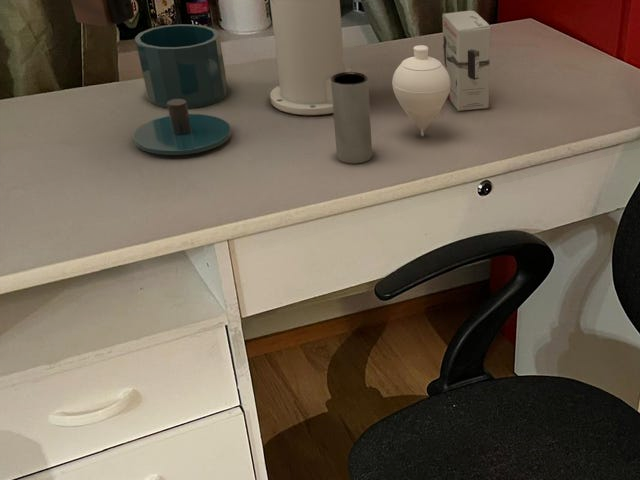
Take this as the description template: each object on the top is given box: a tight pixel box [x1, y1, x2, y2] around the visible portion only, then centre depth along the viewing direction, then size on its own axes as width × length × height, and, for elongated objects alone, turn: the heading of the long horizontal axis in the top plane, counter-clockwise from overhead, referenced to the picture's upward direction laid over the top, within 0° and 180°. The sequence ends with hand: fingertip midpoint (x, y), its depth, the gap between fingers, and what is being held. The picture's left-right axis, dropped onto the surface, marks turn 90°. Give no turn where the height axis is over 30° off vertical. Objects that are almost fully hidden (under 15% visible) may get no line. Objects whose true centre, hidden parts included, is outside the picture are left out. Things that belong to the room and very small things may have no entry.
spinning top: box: [392, 44, 451, 137], centre depth 114 cm, size 8×8×12 cm
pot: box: [134, 23, 228, 109], centre depth 126 cm, size 11×11×8 cm
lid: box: [132, 99, 232, 156], centre depth 113 cm, size 12×12×5 cm
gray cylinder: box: [331, 71, 373, 165], centre depth 109 cm, size 4×4×10 cm
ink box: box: [442, 10, 491, 112], centre depth 126 cm, size 8×5×12 cm, turn 17°
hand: (105, 16), depth 101 cm, fingers closed on block, 4 cm apart
